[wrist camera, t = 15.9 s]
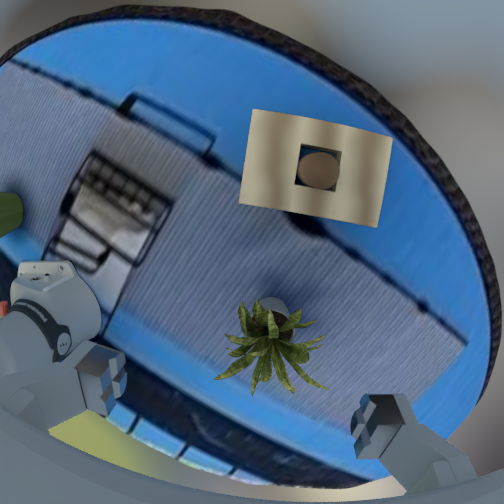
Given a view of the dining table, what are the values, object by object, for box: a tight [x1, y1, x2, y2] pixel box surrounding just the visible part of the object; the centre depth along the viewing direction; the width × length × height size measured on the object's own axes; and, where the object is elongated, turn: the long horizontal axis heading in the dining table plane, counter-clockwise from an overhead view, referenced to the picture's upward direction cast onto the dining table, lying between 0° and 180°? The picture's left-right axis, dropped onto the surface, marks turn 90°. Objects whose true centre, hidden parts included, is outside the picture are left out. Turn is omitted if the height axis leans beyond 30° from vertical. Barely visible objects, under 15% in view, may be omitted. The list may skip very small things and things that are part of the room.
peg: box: [296, 152, 340, 189], centre depth 36 cm, size 4×4×10 cm
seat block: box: [239, 109, 393, 228], centre depth 38 cm, size 18×12×5 cm, turn 81°
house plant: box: [214, 297, 330, 395], centre depth 39 cm, size 14×14×16 cm
